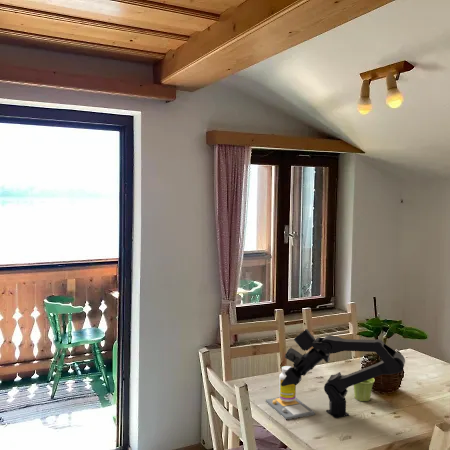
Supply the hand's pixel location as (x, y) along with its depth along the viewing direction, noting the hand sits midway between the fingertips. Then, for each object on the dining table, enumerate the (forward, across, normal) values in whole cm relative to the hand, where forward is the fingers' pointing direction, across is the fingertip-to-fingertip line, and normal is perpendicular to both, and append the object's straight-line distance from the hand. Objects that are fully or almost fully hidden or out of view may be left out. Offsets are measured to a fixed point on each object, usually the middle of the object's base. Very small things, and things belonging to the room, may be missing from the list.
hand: (284, 382), depth 201 cm
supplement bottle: (+4, 0, +6) cm, 7 cm away
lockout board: (+4, +4, +9) cm, 10 cm away
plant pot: (-13, -19, +26) cm, 35 cm away
